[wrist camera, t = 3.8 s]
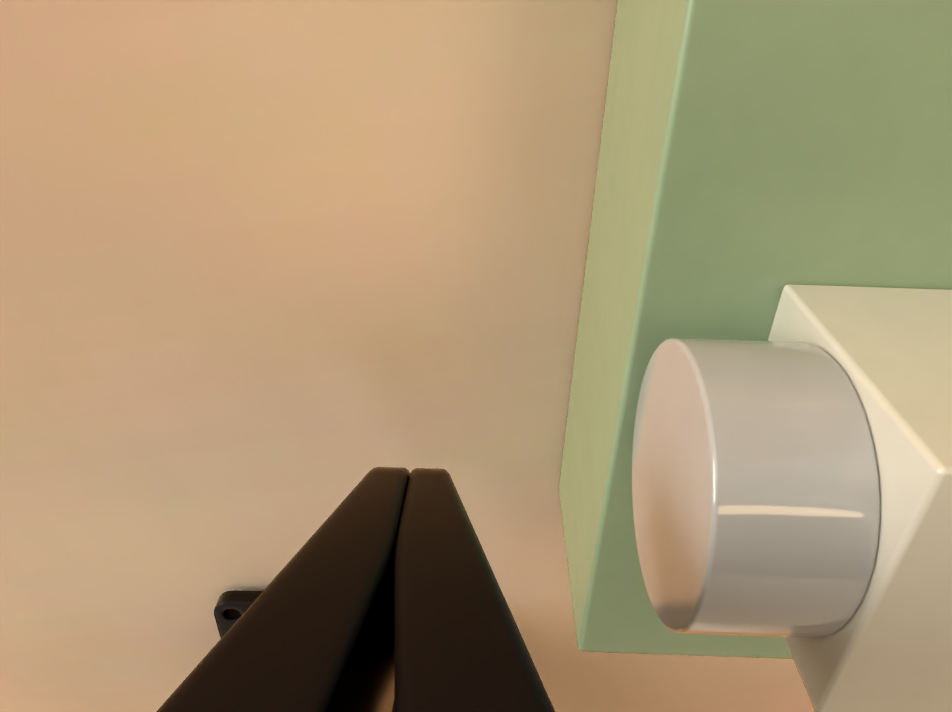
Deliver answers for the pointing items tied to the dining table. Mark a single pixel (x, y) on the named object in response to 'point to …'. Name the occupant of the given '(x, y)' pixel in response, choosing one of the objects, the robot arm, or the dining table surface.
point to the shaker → (810, 491)
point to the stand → (738, 228)
